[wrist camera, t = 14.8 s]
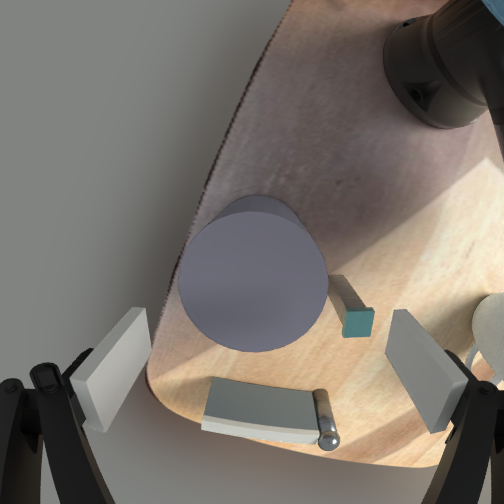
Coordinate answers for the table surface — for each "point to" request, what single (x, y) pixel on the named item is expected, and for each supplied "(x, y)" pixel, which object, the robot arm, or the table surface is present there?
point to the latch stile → (350, 308)
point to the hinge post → (325, 421)
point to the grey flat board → (260, 412)
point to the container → (253, 277)
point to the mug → (489, 335)
